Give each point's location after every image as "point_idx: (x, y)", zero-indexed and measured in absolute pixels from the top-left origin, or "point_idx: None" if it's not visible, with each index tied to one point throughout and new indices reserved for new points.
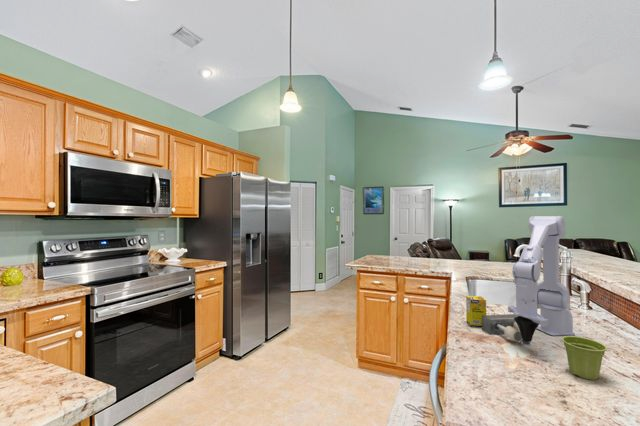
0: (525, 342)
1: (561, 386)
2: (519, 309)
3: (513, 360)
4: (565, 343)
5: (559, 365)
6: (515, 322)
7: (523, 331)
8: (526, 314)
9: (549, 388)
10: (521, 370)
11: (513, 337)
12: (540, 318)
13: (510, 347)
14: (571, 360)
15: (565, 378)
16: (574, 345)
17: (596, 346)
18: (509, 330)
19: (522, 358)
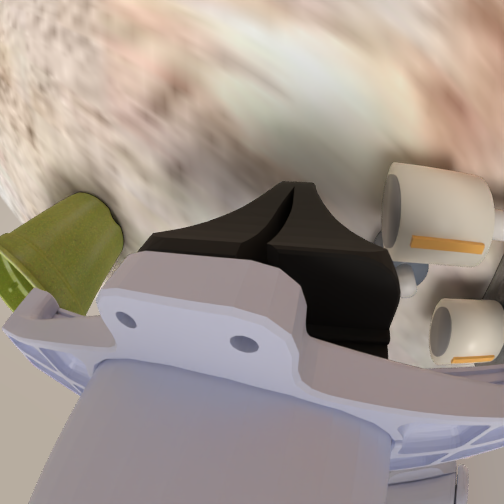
0: (381, 239)
1: (21, 103)
2: (120, 457)
3: (169, 8)
4: (4, 246)
5: (138, 199)
6: (500, 333)
7: (268, 207)
8: (94, 374)
9: (12, 64)
10: (84, 12)
11: (395, 170)
12: (41, 361)
13: (358, 103)
14: (44, 213)
15: (56, 146)
16: (82, 301)
17: None
18: (452, 197)
19: (193, 69)
